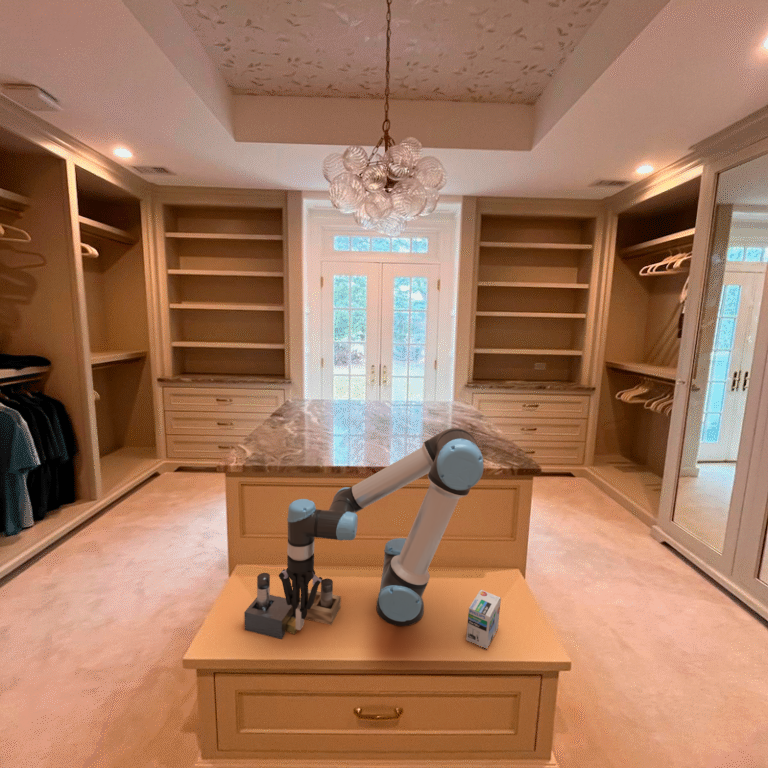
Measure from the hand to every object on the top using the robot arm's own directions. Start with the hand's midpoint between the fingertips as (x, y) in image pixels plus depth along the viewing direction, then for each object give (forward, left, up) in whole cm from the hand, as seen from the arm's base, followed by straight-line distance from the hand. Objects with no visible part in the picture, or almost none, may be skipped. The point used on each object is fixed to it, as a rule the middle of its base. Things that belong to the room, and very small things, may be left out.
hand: (299, 626), depth 124 cm
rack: (-2, -9, -2) cm, 9 cm away
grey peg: (+12, 0, +2) cm, 12 cm away
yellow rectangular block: (+6, 0, -1) cm, 6 cm away
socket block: (+10, 0, -2) cm, 10 cm away
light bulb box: (-52, -15, -2) cm, 55 cm away
